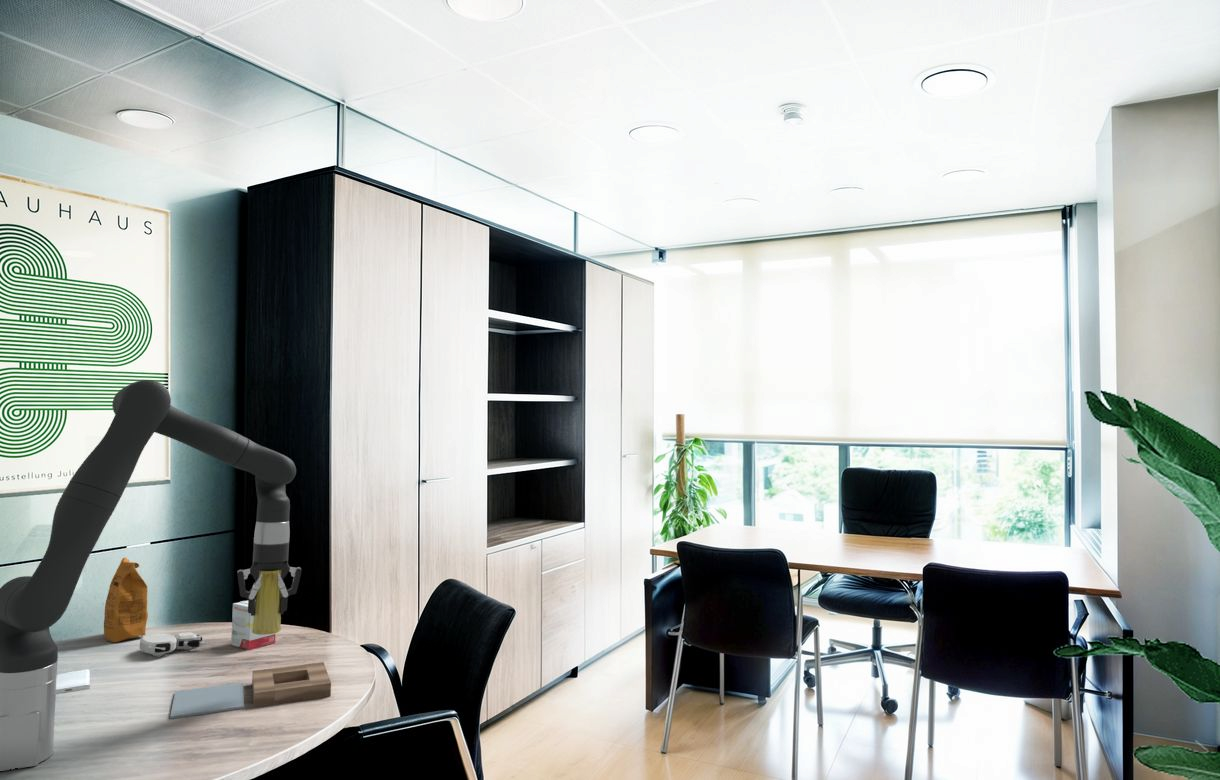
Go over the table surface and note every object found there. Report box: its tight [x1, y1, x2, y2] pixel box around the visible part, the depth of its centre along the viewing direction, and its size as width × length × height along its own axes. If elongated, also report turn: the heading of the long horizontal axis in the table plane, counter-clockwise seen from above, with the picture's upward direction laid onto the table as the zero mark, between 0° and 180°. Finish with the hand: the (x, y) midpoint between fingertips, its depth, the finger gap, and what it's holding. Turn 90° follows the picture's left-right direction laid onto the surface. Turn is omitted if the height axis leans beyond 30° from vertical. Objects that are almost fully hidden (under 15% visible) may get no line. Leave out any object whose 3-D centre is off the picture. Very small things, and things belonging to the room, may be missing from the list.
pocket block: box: [251, 661, 332, 708], centre depth 175 cm, size 16×16×3 cm
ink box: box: [230, 600, 277, 651], centre depth 210 cm, size 9×9×12 cm
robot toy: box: [137, 631, 207, 657], centre depth 202 cm, size 12×4×15 cm
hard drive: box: [56, 669, 91, 695], centre depth 176 cm, size 2×8×12 cm
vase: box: [252, 570, 282, 635], centre depth 173 cm, size 6×6×14 cm
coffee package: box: [103, 557, 149, 643], centre depth 214 cm, size 10×12×22 cm
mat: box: [169, 682, 245, 720], centre depth 167 cm, size 16×14×1 cm
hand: (267, 613), depth 173 cm, fingers closed on vase, 5 cm apart
